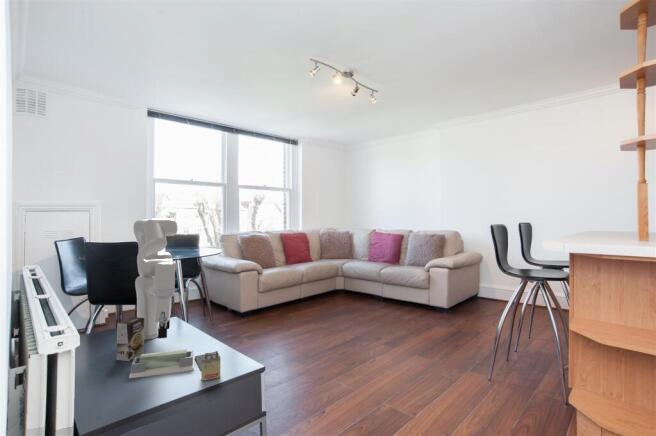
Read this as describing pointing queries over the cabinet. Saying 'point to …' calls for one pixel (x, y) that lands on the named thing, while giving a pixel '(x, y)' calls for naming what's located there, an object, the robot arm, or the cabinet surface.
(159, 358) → the rail
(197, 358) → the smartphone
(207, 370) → the worn yellow tin
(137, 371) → the bracket board
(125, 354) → the coffee box
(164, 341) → the cabinet surface
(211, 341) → the cabinet surface
